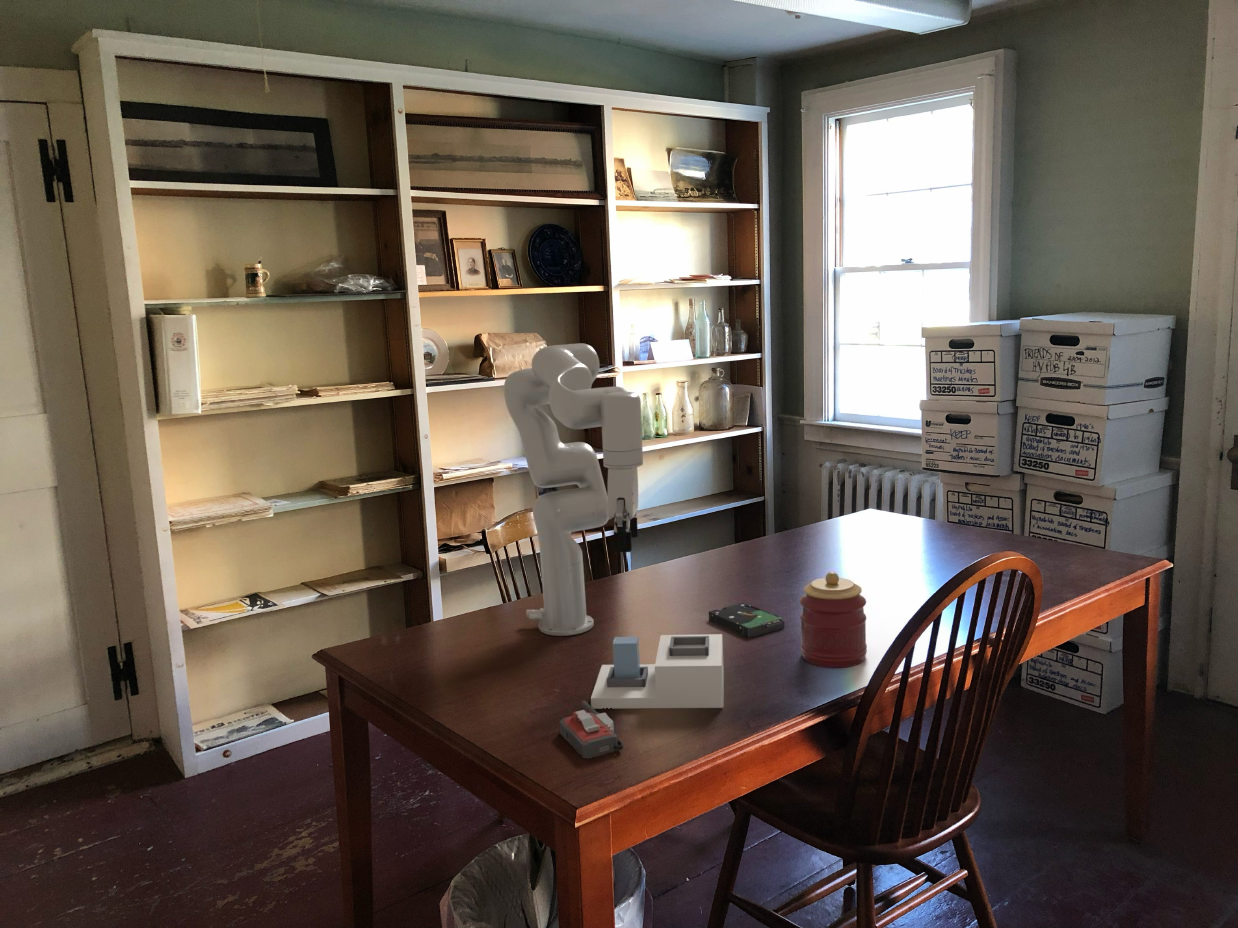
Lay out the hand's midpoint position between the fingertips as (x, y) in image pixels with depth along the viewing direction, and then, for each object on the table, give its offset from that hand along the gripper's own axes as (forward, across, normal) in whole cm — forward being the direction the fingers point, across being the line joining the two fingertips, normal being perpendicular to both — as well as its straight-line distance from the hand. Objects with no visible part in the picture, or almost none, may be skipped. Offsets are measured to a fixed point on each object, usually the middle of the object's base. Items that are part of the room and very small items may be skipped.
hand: (626, 544), depth 186 cm
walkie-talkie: (+27, +26, -4) cm, 38 cm away
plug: (+24, +8, 0) cm, 26 cm away
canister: (+26, -9, +40) cm, 49 cm away
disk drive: (+28, -28, +22) cm, 46 cm away
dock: (+26, +8, +6) cm, 28 cm away
